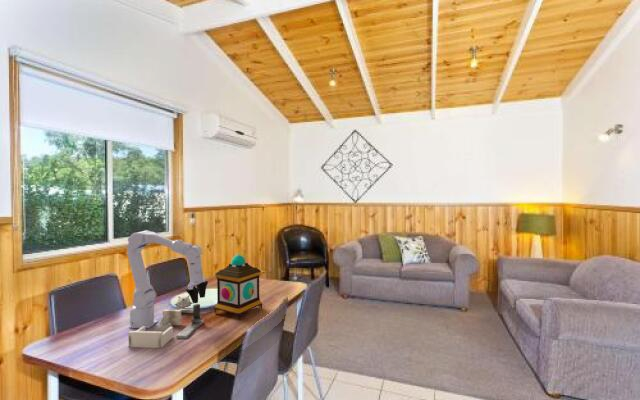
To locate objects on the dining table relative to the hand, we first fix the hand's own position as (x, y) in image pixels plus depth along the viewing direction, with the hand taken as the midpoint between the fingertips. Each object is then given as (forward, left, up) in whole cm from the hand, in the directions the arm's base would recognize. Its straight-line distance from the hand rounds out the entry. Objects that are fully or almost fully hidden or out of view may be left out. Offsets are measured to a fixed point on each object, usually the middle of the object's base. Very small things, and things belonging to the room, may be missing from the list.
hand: (199, 300), depth 147 cm
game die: (-15, +16, -12) cm, 25 cm away
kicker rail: (-1, -6, -12) cm, 13 cm away
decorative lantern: (+14, +17, -12) cm, 25 cm away
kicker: (-8, 0, -11) cm, 14 cm away
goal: (-12, -17, -12) cm, 24 cm away
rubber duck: (-12, -8, -12) cm, 19 cm away
